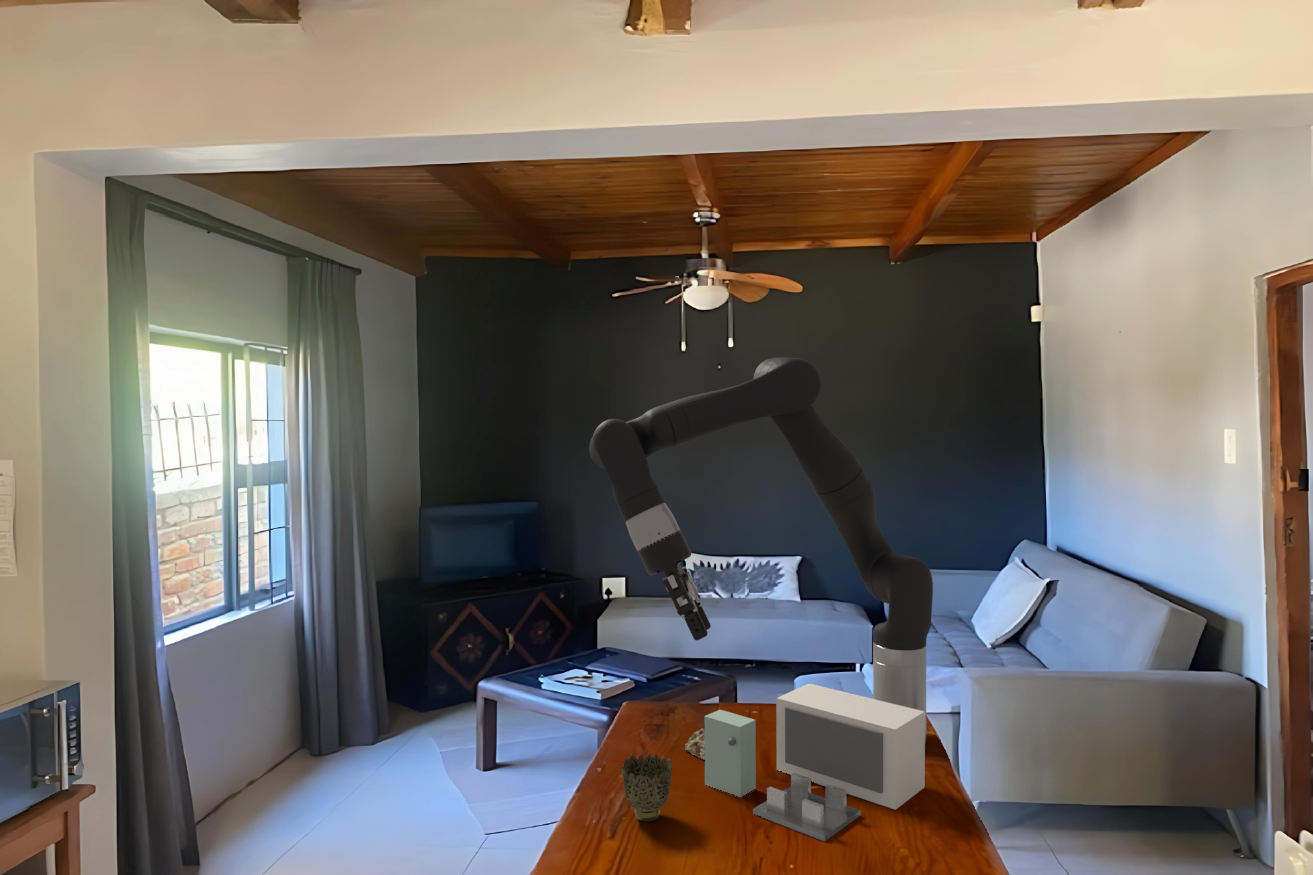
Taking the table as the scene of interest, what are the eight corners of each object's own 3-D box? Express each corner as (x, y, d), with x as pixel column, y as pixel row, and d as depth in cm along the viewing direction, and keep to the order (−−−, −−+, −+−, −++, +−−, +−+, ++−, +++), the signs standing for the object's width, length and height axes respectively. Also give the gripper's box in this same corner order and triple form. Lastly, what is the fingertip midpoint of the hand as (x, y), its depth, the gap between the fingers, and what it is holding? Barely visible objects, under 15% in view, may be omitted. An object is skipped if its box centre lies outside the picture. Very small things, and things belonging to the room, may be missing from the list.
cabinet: (809, 751, 145) (808, 683, 145) (924, 787, 131) (924, 711, 131) (774, 771, 137) (774, 698, 137) (893, 811, 123) (893, 730, 123)
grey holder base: (790, 791, 130) (790, 767, 130) (860, 815, 122) (860, 789, 122) (753, 814, 123) (753, 788, 123) (824, 841, 115) (824, 814, 115)
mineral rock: (675, 731, 150) (716, 715, 152) (681, 754, 150) (722, 737, 152) (695, 757, 139) (738, 738, 141) (701, 780, 140) (744, 762, 142)
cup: (667, 832, 118) (667, 776, 117) (616, 827, 119) (616, 772, 119) (676, 808, 125) (676, 755, 125) (628, 803, 126) (628, 751, 126)
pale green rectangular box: (720, 776, 136) (719, 709, 135) (755, 789, 131) (755, 719, 131) (700, 787, 132) (700, 718, 132) (736, 800, 127) (736, 728, 127)
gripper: (675, 529, 123) (723, 630, 121) (683, 527, 138) (727, 617, 135) (629, 551, 124) (677, 652, 122) (642, 547, 138) (685, 637, 136)
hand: (703, 634), depth 129 cm, fingers open, 8 cm apart
